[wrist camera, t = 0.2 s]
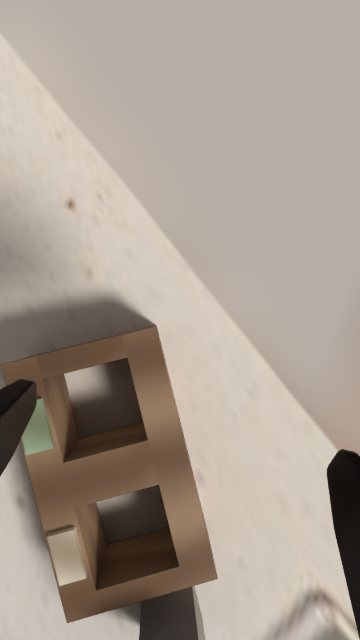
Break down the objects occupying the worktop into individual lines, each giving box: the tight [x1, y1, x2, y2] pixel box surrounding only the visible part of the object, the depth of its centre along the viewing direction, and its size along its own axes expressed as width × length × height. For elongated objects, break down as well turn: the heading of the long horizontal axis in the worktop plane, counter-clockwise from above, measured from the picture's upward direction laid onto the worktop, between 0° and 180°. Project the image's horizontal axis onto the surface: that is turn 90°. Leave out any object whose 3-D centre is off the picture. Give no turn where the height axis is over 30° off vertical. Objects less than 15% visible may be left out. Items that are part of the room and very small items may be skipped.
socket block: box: [1, 326, 218, 623], centre depth 22 cm, size 16×9×4 cm, turn 14°
